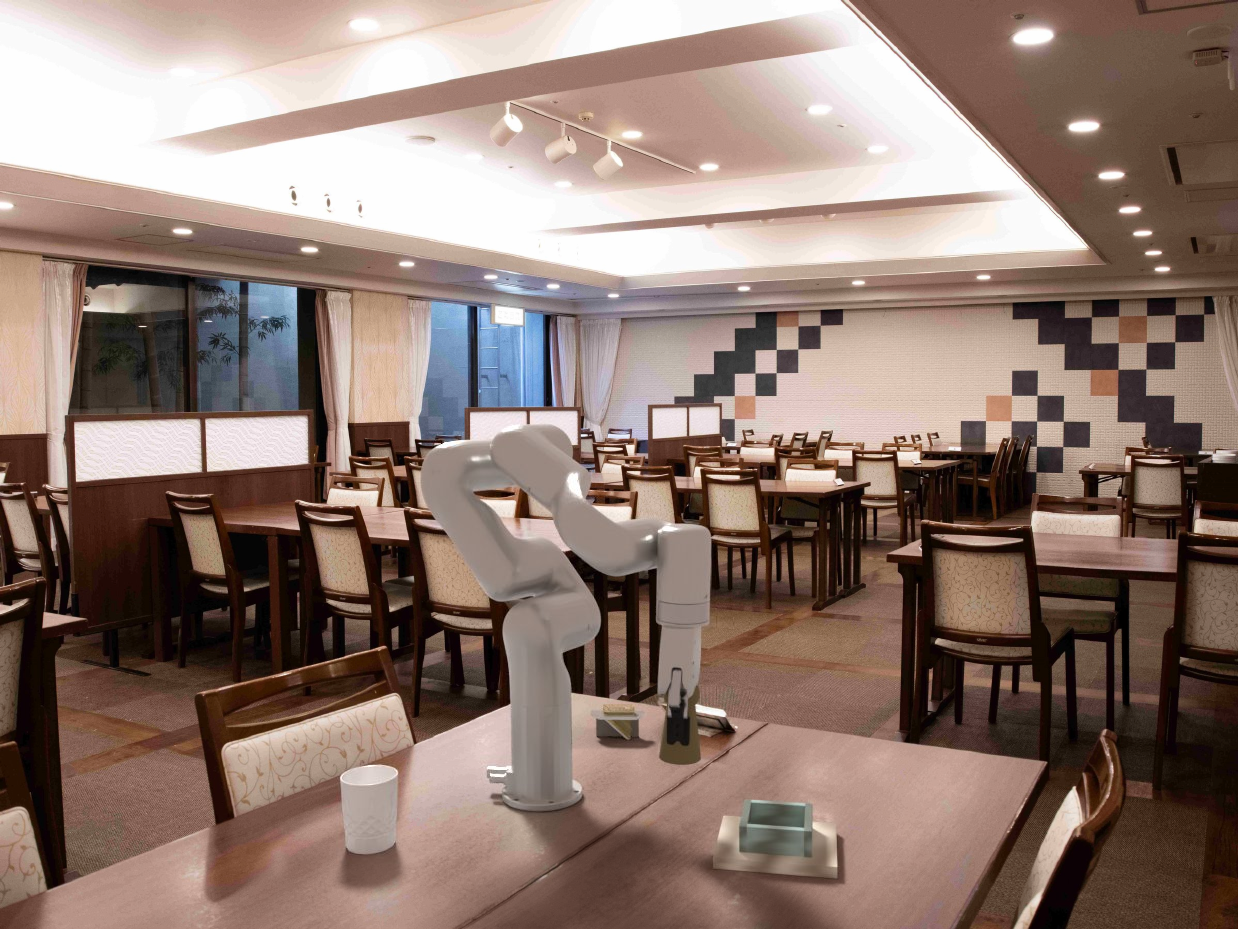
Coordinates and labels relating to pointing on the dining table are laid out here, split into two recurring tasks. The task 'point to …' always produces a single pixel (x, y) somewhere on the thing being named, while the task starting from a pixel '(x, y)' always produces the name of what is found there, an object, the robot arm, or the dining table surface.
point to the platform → (617, 721)
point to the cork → (677, 751)
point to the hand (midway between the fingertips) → (680, 738)
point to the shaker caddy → (777, 841)
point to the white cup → (369, 808)
